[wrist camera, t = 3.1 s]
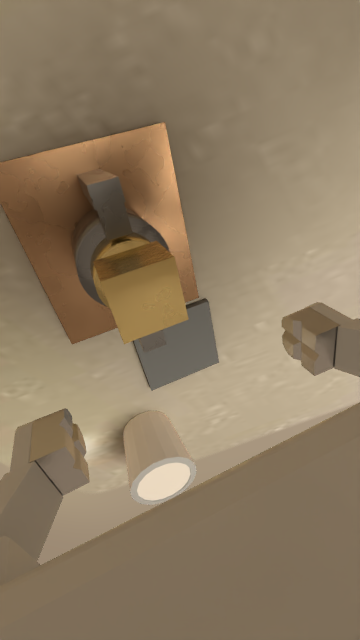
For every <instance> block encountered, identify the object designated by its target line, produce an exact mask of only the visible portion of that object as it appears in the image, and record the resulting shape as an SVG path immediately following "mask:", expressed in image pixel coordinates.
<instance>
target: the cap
mask: <svg viewBox="0 0 360 640" xmlns="http://www.w3.org/2000/svg"><path fill="white" fill-rule="evenodd" d="M90 270H91V275H92V278H93V281H94V284H95V288H96V291H97V294H98V296H99V298H100V299H101V301H102V302H103V303H104V304H105V305H106V306H107V307H108V308H110V309H111V311H112V314H113V316H114V319H115V321H116V324H117V327H118V329H119V332H120V334H121V337H122V340H123V342H124V344H126V343H128V342H131V341H134V340H136V339H139V338H141V337H144V336H147V335H149V334H152V333H155V332H157V331H160V330H162V329H165V328H168V327H170V326H173V325H175V324H178V323H181V322H183V321H186V320H189V319H188V314H187V310H186V305H185V301H184V296H183V292H182V288H181V283H180V279H179V274H178V270H177V265H176V261H175V257H174V256H173V255H172V254H171V253H170V252H169V251H168V250H167V249H165V248H164V247H163V246H162V245H161V244H160V243H159V242H158V241H154V242H150V241H149V240H148V239H147V238H145V237H144V236H142V235H140V234H138V233H135V232H133V233H131V234H128V235H125V236H122V237H118V238H115V239H112V240H109V241H108V240H107V239H106V238H104V239H103V240H102V241H101V242H100V243H99V244H98V245H97V246H96V248H95V250H94V252H93V254H92V257H91V262H90Z"/></svg>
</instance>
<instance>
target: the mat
mask: <svg viewBox="0 0 360 640" xmlns="http://www.w3.org/2000/svg"><path fill="white" fill-rule="evenodd" d="M186 310H187V314H188V319H189V320H186V321H183V322H181V323H178V324H175V325H173V326H170V327H168V328H165V329H162V330H163V333H164V336H165V340H166V343H167V345H164V346H161V347H159V348H156V349H154V350H151V351H149V352H146V353H144V351H143V348H142V346H141V344H140V342H139V339H136V340H134V344H135V347H136V350H137V352H138V355H139V358H140V361H141V363H142V366H143V369H144V372H145V374H146V377H147V380H148V383H149V385H150V388H151V391H152V390H154V389H157V388H159V387H162V386H164V385H166V384H169V383H171V382H173V381H176V380H178V379H181V378H183V377H185V376H188V375H190V374H192V373H195V372H197V371H200V370H202V369H204V368H207V367H209V366H212V365H214V364H216V363H219V360H218V354H217V348H216V343H215V337H214V331H213V325H212V320H211V314H210V308H209V303H208V300H207V299H204V300H201V301H198V302H195V303H193V304H190V305H187V306H186Z"/></svg>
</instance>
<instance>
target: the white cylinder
mask: <svg viewBox="0 0 360 640" xmlns="http://www.w3.org/2000/svg"><path fill="white" fill-rule="evenodd" d="M123 439H124V447H125V455H126V463H127V471H128V479H129V487H130V493H131V496H132V498H133V499H134V500H135V501H137V502H138V503H140V504H148V505H152V504H157V503H162V502H165V501H167V500H169V499H171V498H173V497H175V496H177V495H179V494H180V493H181V492H183V491H184V490H185V489H186V488H187V487H188V486H189V485H190V484H191V483H192V481H193V480H194V477H195V475H196V465H195V463H194V461H193V460H192V458H191V456H190V454H189V453H188V451H187V449H186V447H185V446H184V444H183V442H182V440H181V439H180V437H179V435H178V433H177V432H176V430H175V428H174V426H173V425H172V423H171V421H170V420H169V418H168V417H167V416H166V415H165V414H164V413H162V412H159V411H147V412H144V413H141V414H138V415H137V416H135V417H134V418H133V419H131V420H130V421H129V422H128V424H127V425H126V426H125V428H124V432H123Z"/></svg>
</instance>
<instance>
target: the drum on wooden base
mask: <svg viewBox="0 0 360 640" xmlns="http://www.w3.org/2000/svg"><path fill="white" fill-rule="evenodd" d="M0 203H1V205H2V207H3V209H4V211H5V213H6V215H7V217H8V219H9V221H10V223H11V225H12V227H13V229H14V231H15V233H16V235H17V237H18V238H19V240H20V242H21V244H22V246H23V248H24V250H25V252H26V254H27V256H28V258H29V260H30V262H31V264H32V266H33V268H34V270H35V272H36V274H37V276H38V278H39V280H40V282H41V284H42V286H43V288H44V290H45V292H46V294H47V296H48V298H49V300H50V302H51V304H52V306H53V308H54V310H55V311H56V313H57V315H58V317H59V319H60V321H61V323H62V325H63V327H64V329H65V331H66V333H67V335H68V337H69V339H70V341H71V343H72V344H74V343H77V342H80V341H83V340H85V339H88V338H91V337H93V336H96V335H99V334H101V333H104V332H107V331H110V330H112V329H115V328H118V327H117V324H116V321H115V319H114V316H113V314H112V311H111V309H110V308H108V307H107V306H106V305H105V304H104V303H103V302H102V301H101V299H100V298H99V296H98V294H97V291H96V288H95V284H94V281H93V278H92V275H91V270H90V262H91V257H92V254H93V252H94V250H95V248H96V246H97V245H98V244H99V243H100V242H101V241H102V240H103V239H104V238H106V239H107V240H108V241H109V240H112V239H115V238H118V237H122V236H125V235H128V234H131V233H133V232H135V233H138V234H140V235H142V236H144V237H145V238H147V239H148V240H149V241H150V242H154V241H158V242H159V243H160V244H161V245H162V246H163V247H164V248H165V249H167V250H168V251H169V252H170V253H171V254H172V255H173V256H174V257H175V261H176V265H177V270H178V274H179V279H180V283H181V288H182V292H183V296H184V301H185V302H188V301H191V300H193V299H196V298H199V296H198V291H197V286H196V280H195V275H194V270H193V265H192V260H191V255H190V249H189V244H188V239H187V234H186V229H185V224H184V218H183V213H182V208H181V203H180V198H179V193H178V187H177V182H176V177H175V172H174V167H173V162H172V156H171V151H170V146H169V141H168V136H167V131H166V125H165V122H163V123H159V124H155V125H151V126H147V127H143V128H139V129H135V130H130V131H126V132H122V133H118V134H114V135H110V136H106V137H102V138H98V139H94V140H90V141H86V142H81V143H77V144H73V145H69V146H65V147H61V148H57V149H53V150H49V151H45V152H41V153H37V154H32V155H28V156H24V157H20V158H16V159H12V160H8V161H4V162H0ZM139 342H140V344H141V346H142V348H143V351H144V353H146V352H149V351H151V350H154V349H156V348H159V347H161V346H164V345H167V343H166V340H165V336H164V333H163V330H160V331H157V332H155V333H152V334H149V335H147V336H144V337H141V338H139Z"/></svg>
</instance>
